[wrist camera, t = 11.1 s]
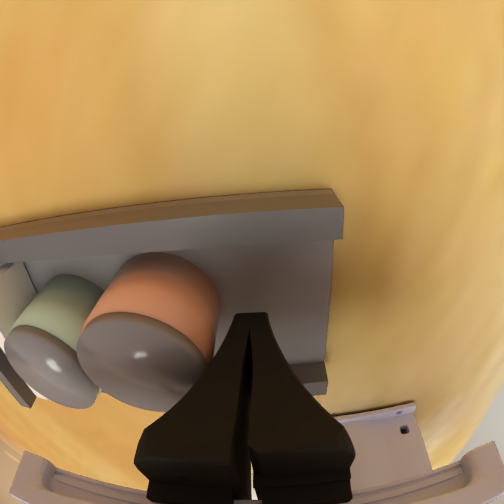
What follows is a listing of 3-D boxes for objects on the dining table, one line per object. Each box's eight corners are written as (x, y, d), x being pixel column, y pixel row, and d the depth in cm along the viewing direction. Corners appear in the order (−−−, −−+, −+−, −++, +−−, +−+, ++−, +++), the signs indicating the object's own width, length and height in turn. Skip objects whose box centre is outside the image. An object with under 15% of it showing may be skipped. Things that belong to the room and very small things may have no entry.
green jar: (106, 272, 13) (63, 337, 9) (138, 351, 16) (115, 416, 12) (30, 275, 13) (-15, 327, 10) (65, 346, 16) (37, 400, 12)
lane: (331, 188, 12) (365, 238, 8) (321, 366, 17) (332, 431, 13) (-19, 231, 13) (-65, 270, 9) (45, 360, 18) (21, 405, 14)
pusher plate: (21, 257, 13) (-19, 297, 10) (70, 356, 16) (48, 400, 13) (9, 258, 13) (-29, 296, 10) (59, 355, 16) (36, 397, 13)
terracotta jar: (104, 248, 13) (56, 311, 9) (220, 255, 13) (205, 330, 9) (123, 335, 15) (96, 400, 11) (220, 345, 15) (212, 419, 11)
